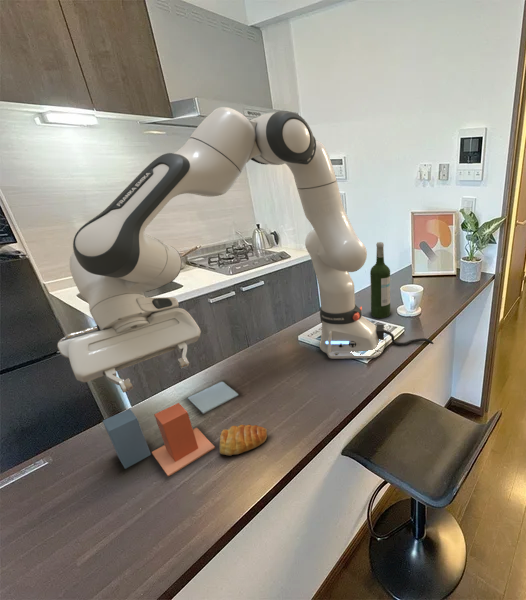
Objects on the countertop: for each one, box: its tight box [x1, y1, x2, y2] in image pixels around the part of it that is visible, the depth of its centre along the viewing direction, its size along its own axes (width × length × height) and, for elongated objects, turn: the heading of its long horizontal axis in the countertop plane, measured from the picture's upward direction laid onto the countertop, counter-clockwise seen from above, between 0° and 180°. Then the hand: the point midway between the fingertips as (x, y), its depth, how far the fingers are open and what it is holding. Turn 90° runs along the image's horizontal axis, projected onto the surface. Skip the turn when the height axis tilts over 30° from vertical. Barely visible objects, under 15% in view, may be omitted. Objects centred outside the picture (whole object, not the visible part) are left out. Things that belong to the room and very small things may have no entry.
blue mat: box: [187, 380, 239, 415], centre depth 86 cm, size 9×9×1 cm
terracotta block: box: [153, 402, 198, 462], centre depth 68 cm, size 4×4×10 cm
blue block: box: [102, 408, 152, 470], centre depth 67 cm, size 4×4×10 cm
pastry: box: [219, 423, 268, 456], centre depth 71 cm, size 9×7×4 cm
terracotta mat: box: [151, 427, 216, 478], centre depth 70 cm, size 9×9×1 cm
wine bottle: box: [369, 241, 391, 319], centre depth 129 cm, size 8×8×30 cm
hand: (158, 377), depth 62 cm, fingers open, 8 cm apart
